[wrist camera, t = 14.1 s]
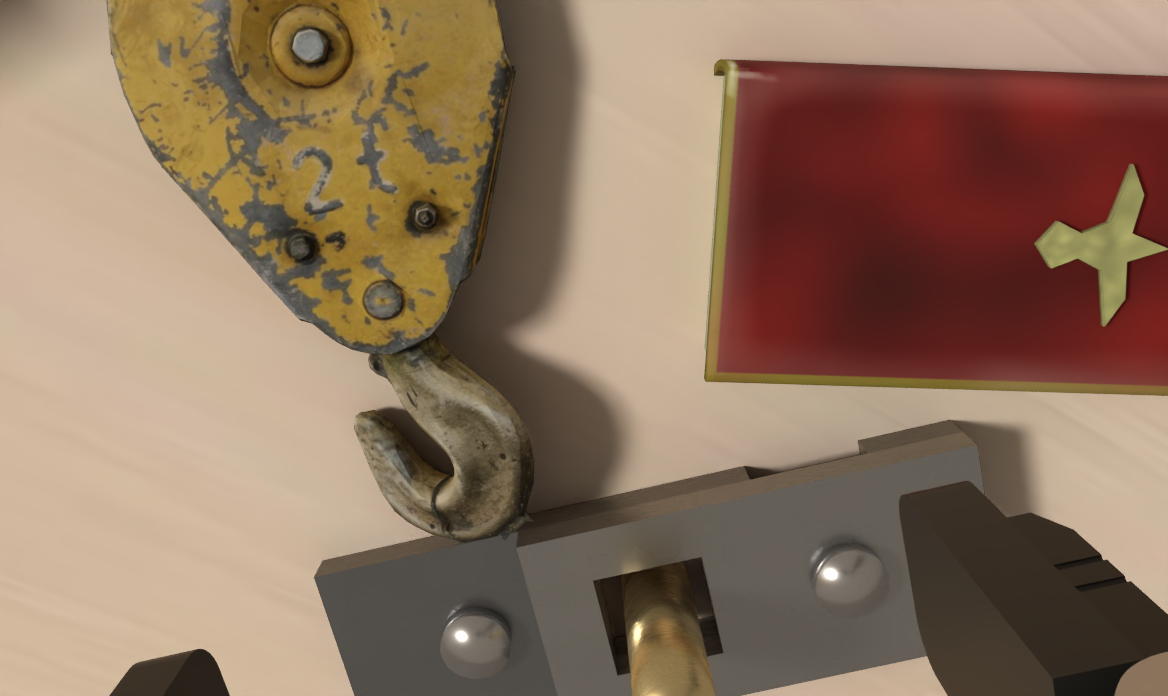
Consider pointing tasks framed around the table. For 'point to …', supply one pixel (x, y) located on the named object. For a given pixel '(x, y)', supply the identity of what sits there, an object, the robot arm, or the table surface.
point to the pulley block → (352, 199)
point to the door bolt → (645, 540)
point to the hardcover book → (940, 229)
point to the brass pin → (664, 634)
